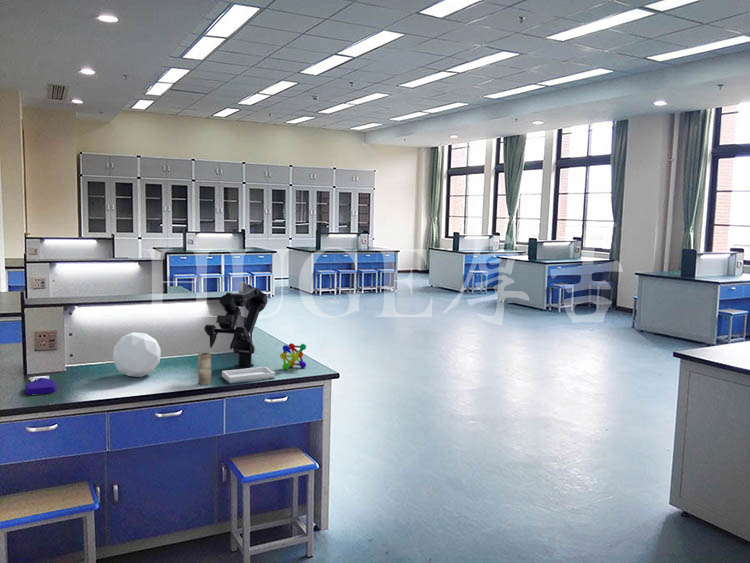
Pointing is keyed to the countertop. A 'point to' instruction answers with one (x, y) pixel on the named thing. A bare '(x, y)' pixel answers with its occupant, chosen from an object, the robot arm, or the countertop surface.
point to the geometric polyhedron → (136, 354)
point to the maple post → (204, 368)
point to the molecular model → (293, 355)
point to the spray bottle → (40, 385)
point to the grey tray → (247, 374)
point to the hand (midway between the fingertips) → (220, 348)
